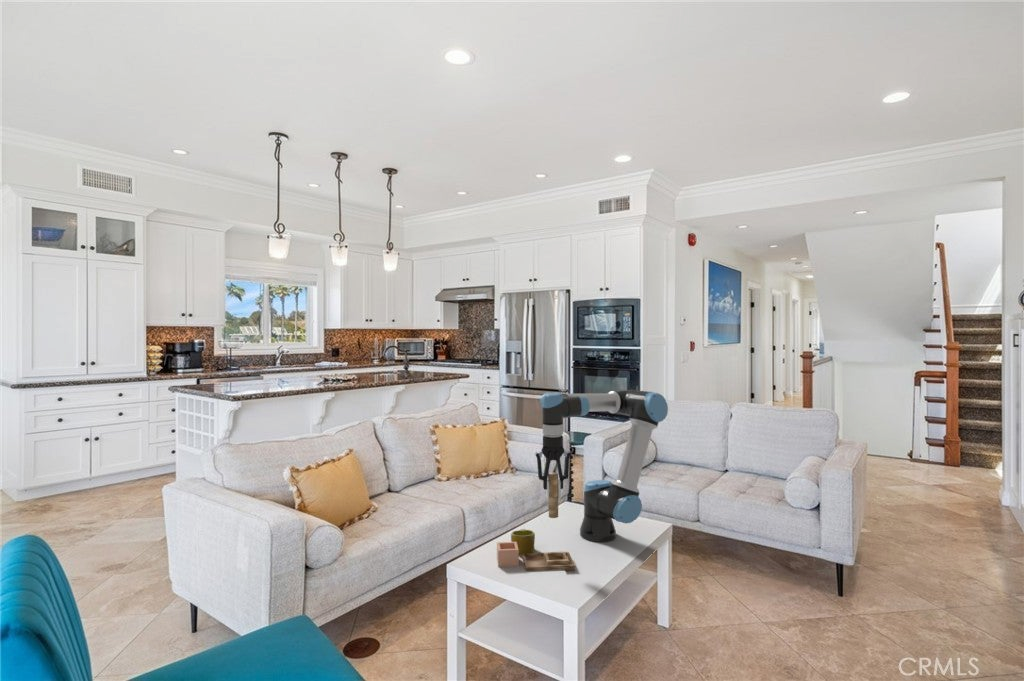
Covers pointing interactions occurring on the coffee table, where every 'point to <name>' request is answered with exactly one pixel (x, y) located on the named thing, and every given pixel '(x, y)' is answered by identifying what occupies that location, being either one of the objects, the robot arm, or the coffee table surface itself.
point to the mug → (524, 540)
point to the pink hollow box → (507, 554)
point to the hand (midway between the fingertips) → (553, 497)
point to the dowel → (553, 495)
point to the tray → (548, 561)
